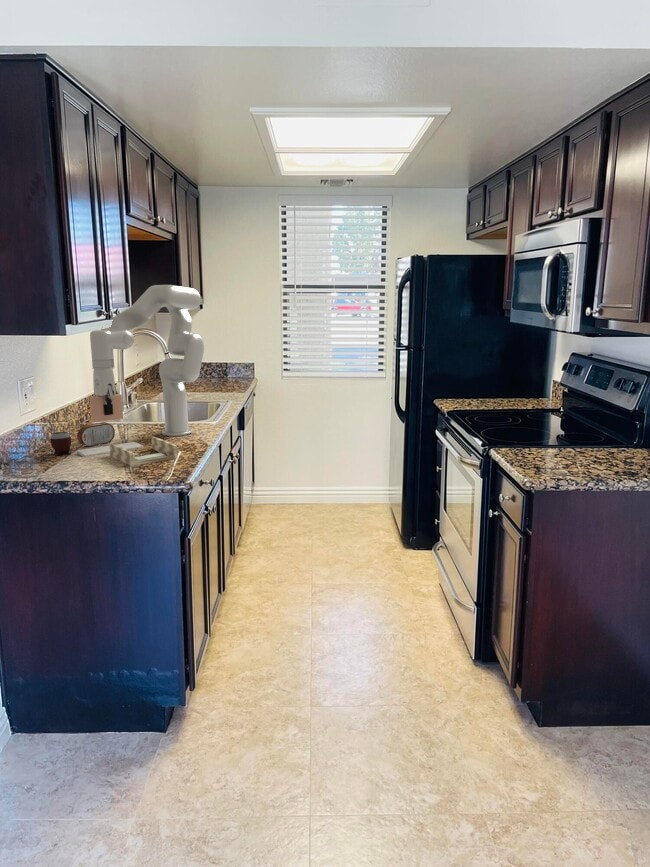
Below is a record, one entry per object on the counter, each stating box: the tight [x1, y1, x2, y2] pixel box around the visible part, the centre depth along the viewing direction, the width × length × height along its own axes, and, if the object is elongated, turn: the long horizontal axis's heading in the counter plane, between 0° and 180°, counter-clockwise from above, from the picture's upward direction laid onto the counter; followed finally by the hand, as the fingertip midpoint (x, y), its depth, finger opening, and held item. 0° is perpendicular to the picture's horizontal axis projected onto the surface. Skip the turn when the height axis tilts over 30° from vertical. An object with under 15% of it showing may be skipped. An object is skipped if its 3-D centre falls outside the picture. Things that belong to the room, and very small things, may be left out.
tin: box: [76, 421, 116, 447], centre depth 242 cm, size 15×3×8 cm, turn 141°
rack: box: [108, 436, 178, 467], centre depth 221 cm, size 19×17×5 cm
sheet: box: [88, 393, 124, 423], centre depth 229 cm, size 2×11×9 cm, turn 129°
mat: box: [76, 441, 144, 458], centre depth 233 cm, size 9×22×1 cm, turn 129°
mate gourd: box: [40, 415, 72, 457], centre depth 226 cm, size 8×8×15 cm
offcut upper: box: [134, 452, 167, 461], centre depth 218 cm, size 4×10×1 cm, turn 130°
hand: (107, 413), depth 229 cm, fingers closed on sheet, 2 cm apart
